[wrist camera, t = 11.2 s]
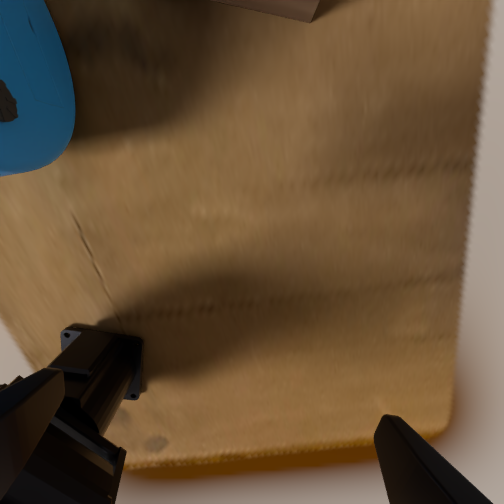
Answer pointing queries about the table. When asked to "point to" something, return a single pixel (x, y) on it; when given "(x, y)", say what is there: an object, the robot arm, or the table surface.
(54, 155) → the alarm clock
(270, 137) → the table surface
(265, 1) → the socket block
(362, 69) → the table surface
